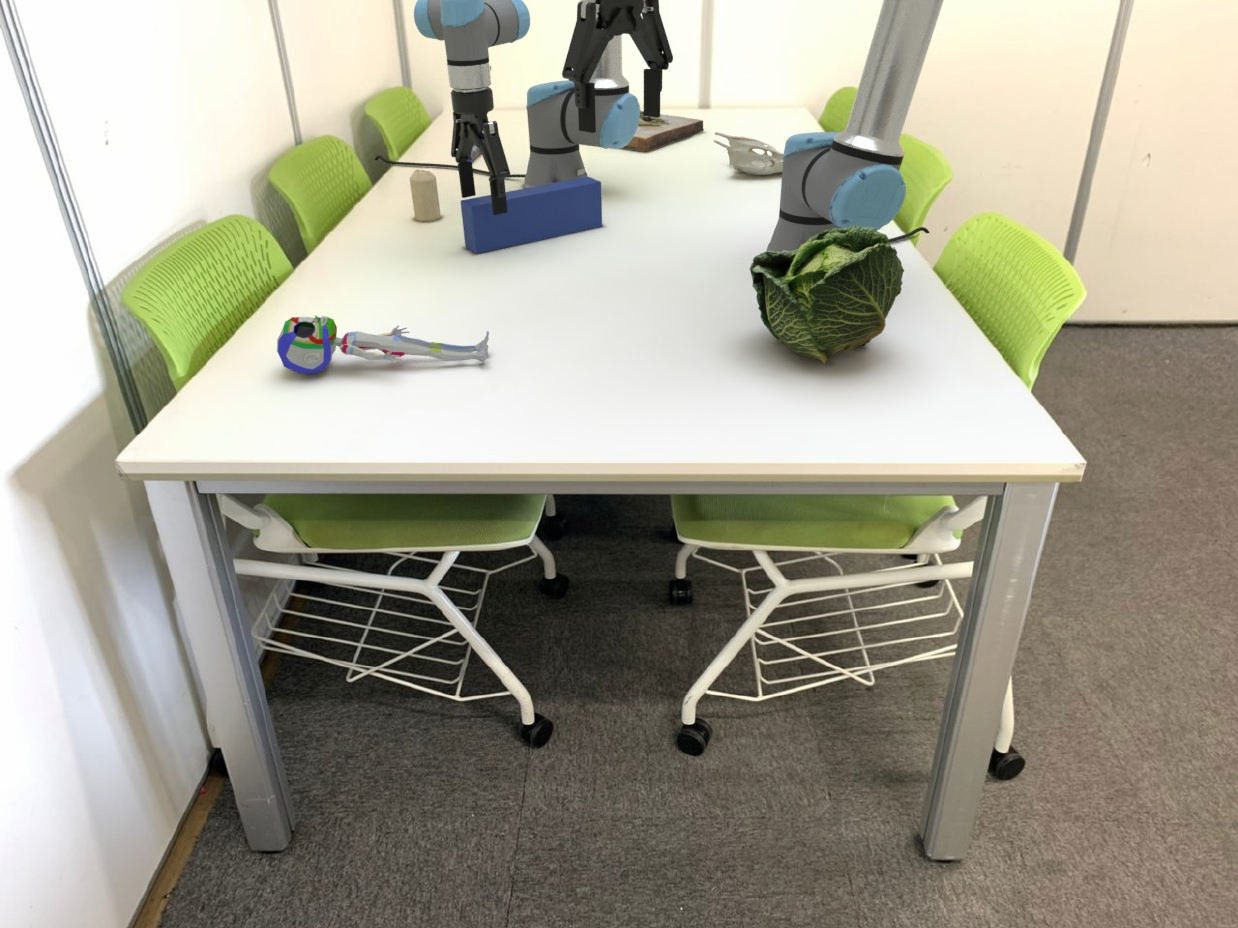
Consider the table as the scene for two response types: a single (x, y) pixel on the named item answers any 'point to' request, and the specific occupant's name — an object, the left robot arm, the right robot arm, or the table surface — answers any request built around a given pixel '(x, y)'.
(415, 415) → the table surface
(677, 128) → the plaque
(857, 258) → the vegetable
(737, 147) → the anatomical model
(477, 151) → the pillar
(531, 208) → the bar
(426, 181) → the candle
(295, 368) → the toy
